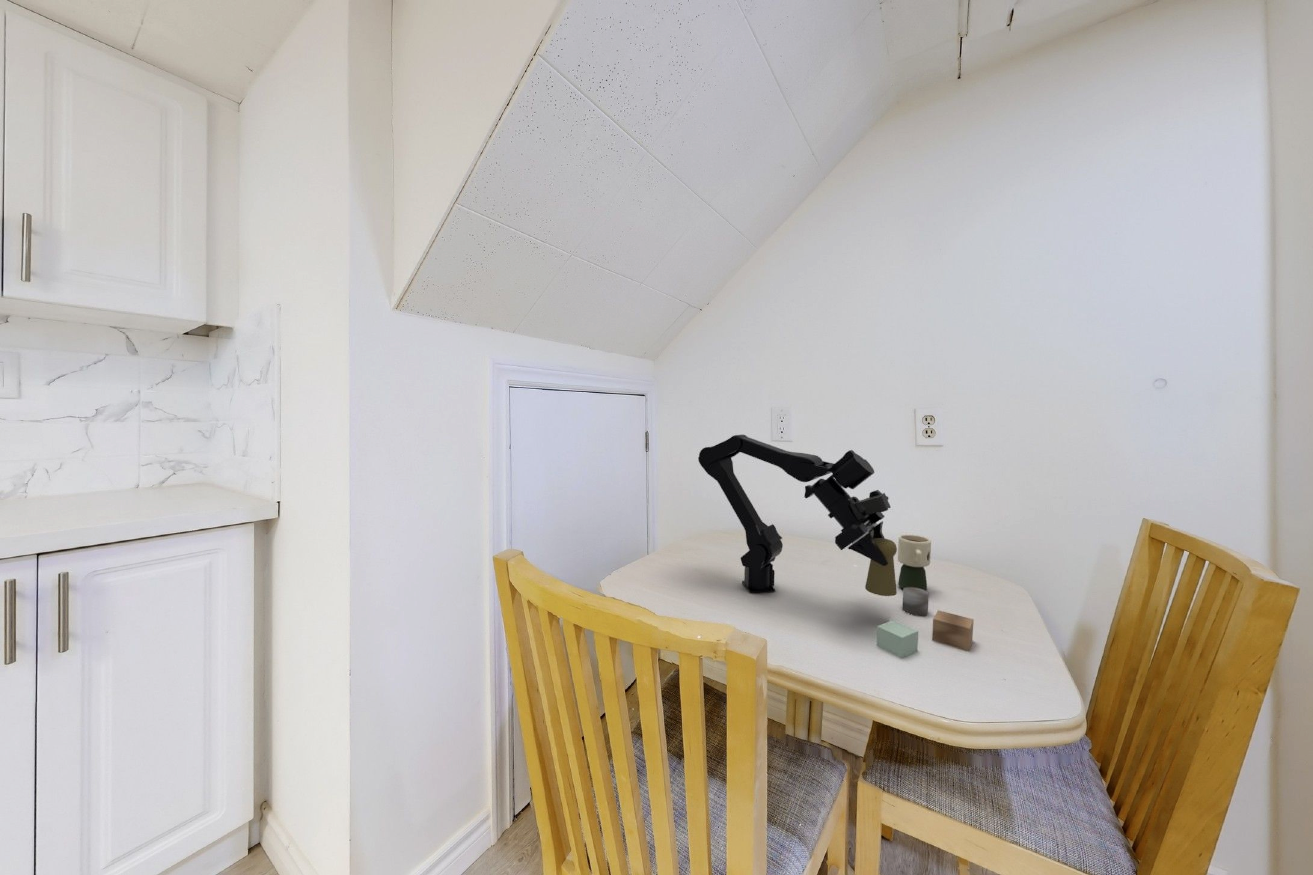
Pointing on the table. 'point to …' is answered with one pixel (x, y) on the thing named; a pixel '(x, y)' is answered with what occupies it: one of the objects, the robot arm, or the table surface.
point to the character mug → (913, 560)
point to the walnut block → (952, 630)
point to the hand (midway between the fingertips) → (889, 561)
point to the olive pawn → (882, 570)
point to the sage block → (897, 638)
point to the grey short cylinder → (915, 601)
